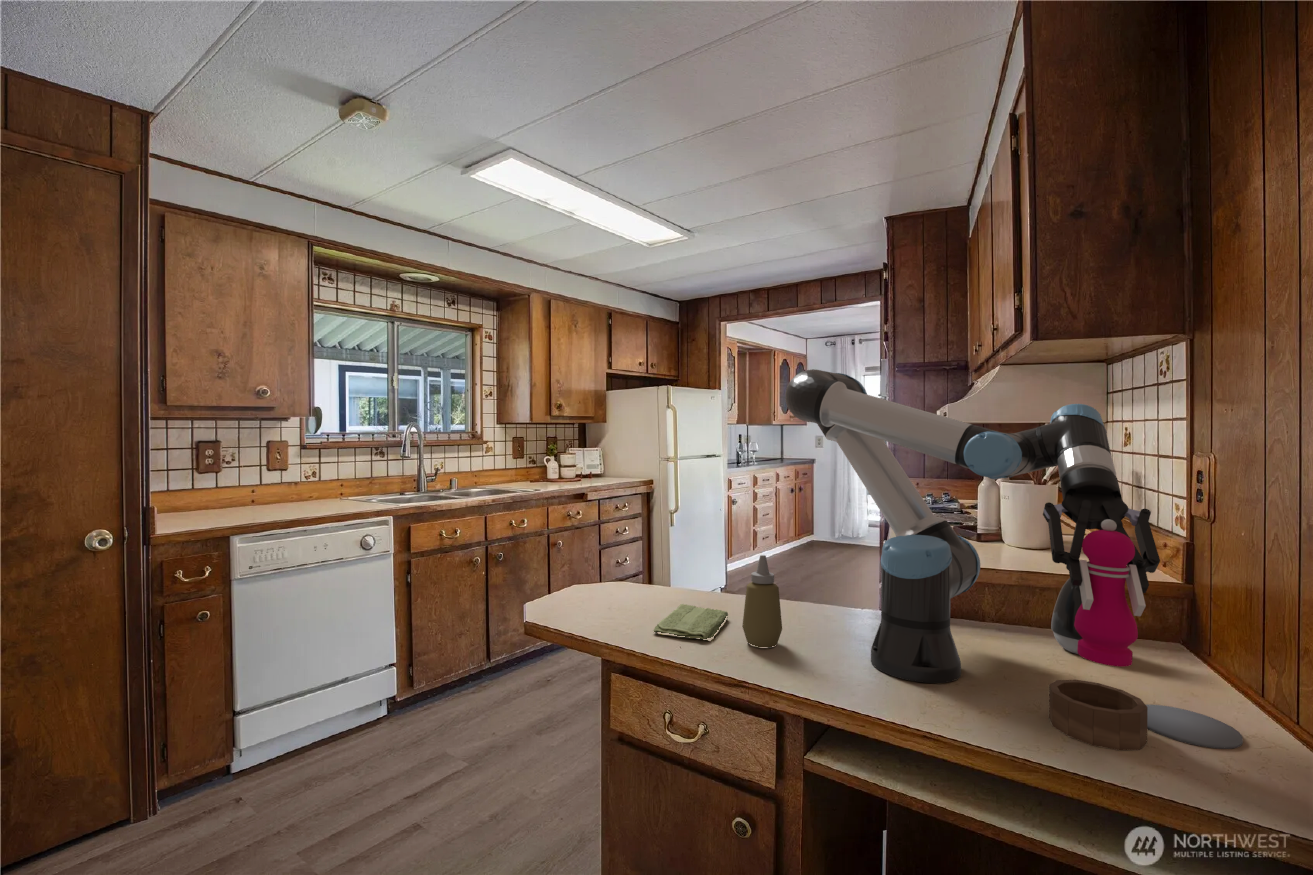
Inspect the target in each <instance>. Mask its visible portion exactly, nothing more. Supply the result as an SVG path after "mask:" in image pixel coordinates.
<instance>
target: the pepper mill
mask: <svg viewBox="0 0 1313 875" xmlns="http://www.w3.org/2000/svg"><path fill="white" fill-rule="evenodd" d="M1101 527H1102V529H1103V530H1098V529H1095V530H1092V531H1091V532H1089V533H1087V534H1086V535H1084V540H1083V543H1082V549H1081V551H1082V553H1083V554H1084V555H1085V556H1086V558H1087V559H1088V561H1087V566H1088V571H1089V577H1090V583H1091V588H1092V594H1093V603H1092V605H1091V608H1090V610H1086V609H1083V605H1082V604H1081V605H1080V607H1079V609H1078V611H1077V613H1076V616H1075V623H1074V626H1075V629H1076V630H1077V632H1078V633H1079V634H1080V636H1081V637H1082V638H1083V639H1081V640H1079V641H1078V649H1077V652H1078V654H1077V655H1079V656H1080V657H1082V658H1083V659H1085V660H1088V661H1090V662H1093V663H1096V664H1100V665H1104V666H1110V667H1120V668H1123V667H1130V666H1132V665H1133V651H1132V649H1130V648H1129V646H1131V645H1133V644H1134V643H1135V642H1136V640H1138V637H1139V636H1138V635H1139V632H1138V625H1137V622H1136V619H1135V616H1134V614H1133V612H1132V611H1131V609H1130V606H1129V604H1128V601H1127V597H1126V586H1125V585H1126V578H1128V577H1129V576H1130V575H1129V574H1128V573H1129V570H1130V568H1129V567H1128V566H1127V564H1128V563H1129V562H1130V561H1131V560H1132V559H1133V558H1134V556H1135V547H1136V546H1135V547H1134V545H1135V544H1134V541H1133V540H1132V539H1131V538H1129V537H1130V536H1129V537H1127V536H1126V535H1124V534H1122V533H1120V532H1117V531H1114V530H1115V529H1116V527H1117V525H1116V523H1115V522H1114V521H1113V520H1110V519H1106V520H1104V521H1102V523H1101Z"/></svg>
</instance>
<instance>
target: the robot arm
mask: <svg viewBox="0 0 1313 875" xmlns="http://www.w3.org/2000/svg"><path fill="white" fill-rule="evenodd" d="M784 398H785V404H786V406H787V409H788V410H789V412H790V413H791V414H792V415H793V416H794V417H795V418H797V419H798V420H800V421H803V422H807V423H812V424H813V423H814V424H817V426H818V427H819V429H820V430H821V432H822V434H823V436H824V437H825V439H827V440H828V441H833V442H836V443H837V444H838V447H839V448H840V449H841V452H842V453H843V454H844V456H845V457H846V459H847V460H848V462H849V463H850V465H851V466H852V469H853V470H854V471H855V473H856V474H857V476H858V478H859V479H860V481H861V483H862V484H863V486H864V487H865V489H866V490H867V492H868V493H869V495H870V497H871V498H872V499H873V501H874V503H875V504H876V506H877V508H878V510H879V511H880V512H881V514H882V515H883V517H884V519H885V520H886V522H887V523H888V525H889V527H890V529H891V530H892V531H893V533H894V535H895V536H892V537H891V538H888V539H887V540H886V541H885V542H884V543H883V546H882V548H881V557H880V565H881V568H880V569H881V571H880V572H881V573H880V578H881V580H880V582H881V583H880V586H881V587H880V591H881V594H880V597H881V598H880V600H881V601H880V602H881V604H880V606H881V607H880V609H881V611H880V612H881V613H880V614H881V615H880V623H879V626H878V628H877V631H876V633H875V636H874V639H873V642H872V646H871V648H870V662H871V664H872V666H873V667H874V668H876V669H877V670H879V671H880V672H882V673H885V674H886V675H889V676H891V677H895V678H898V679H901V680H906V681H911V682H917V683H925V684H942V683H943V684H944V683H950V682H953V681H956V680H958V679H959V678H961V675H962V662H961V659H960V655H959V652H958V649H957V646H956V643H955V640H954V637H953V634H952V631H951V599H952V598H954V597H957V596H960V595H961V594H963V593H966V592H967V591H968V590H969V589H971V587H972V586H973V585H974V584H975V583H976V581H977V579H978V578H979V576H980V572H981V559H980V556H979V553H978V551H977V549H976V548H975V547H974V545H973V544H972V543H971V542H969V540H967V539H966V538H964V537H963V536H961V535H958V534H957V533H956V531H955V530H954V528H953V527H952V526H951V524H950V523H949V521H948V520H947V519H946V518H943V517H939V516H937V515H935V514H934V513H933V512H932V510H931V509H930V507H929V505H928V504H927V503H926V501H925V500H924V498H923V497H922V495H921V494H920V492H919V490H918V489H917V488H916V487H915V485H914V483H913V482H912V480H911V479H910V477H909V476H908V475H907V473H906V472H905V470H904V468H903V467H902V465H901V464H900V463H899V461H898V459H897V458H896V457H895V455H894V454H893V452H892V451H891V449H890V448H889V447H888V445H887V444H886V442H888V443H890V444H893V445H896V446H900V447H903V448H906V449H910V450H913V451H915V452H918V453H921V454H924V455H927V456H931V457H934V458H937V459H939V460H942V461H946V462H948V463H952V464H954V465H957V466H961V467H962V468H965V469H969V470H970V471H972V472H973V473H974V474H976V475H978V476H981V477H985V478H989V479H991V480H1000V479H1009V478H1013V477H1015V476H1019V475H1023V474H1028V473H1031V472H1035V471H1036V472H1037V471H1041V470H1043V469H1049V468H1054V467H1058V468H1057V469H1058V474H1059V475H1058V476H1059V480H1060V489H1061V495H1062V501H1061V503H1059V504H1054V503H1052V502H1049V501H1047V502H1045V504H1044V507H1043V513H1042V516H1043V518H1044V519H1045V521H1046V522H1047V524H1048V533H1049V542H1050V543H1049V544H1050V550H1051V560H1052V562H1053V563H1055V564H1060V563H1061V564H1063V565H1065V569H1066V570H1067V571H1068V573H1069V578H1070V582H1071V583H1072V585H1077V586H1079V587H1080V593H1081V599H1082V605H1083V609H1086V610H1090V608H1091V605H1092V603H1093V594H1092V588H1091V583H1090V577H1089V571H1088V566H1087V562H1088V561H1087V560H1086V559H1080V558H1081V554H1082V543H1083V540H1084V538H1085V536H1086V535H1085V534H1086V530H1103V529H1102V527H1101V523H1102V521H1104V520H1106V519H1110V520H1113V521H1114V522H1115V523H1116V525H1117V527H1116V529H1115V530H1114V531H1117V532H1120V533H1122V534H1124V535H1126V536H1127V537H1129V538H1130V537H1131V536H1129V535H1128V532H1127V531H1126V529H1125V528H1124V525H1123V521H1122V520H1123V519H1125V518H1128V519H1129V522H1130V524H1131V526H1133V527H1134V533H1135V538H1136V540H1137V546H1138V548H1137V547H1136V546H1135V544H1134V547H1135V556H1134V558H1133V559H1132V560H1131V561H1130V562H1129V563H1128V564H1127V566H1128V567H1129V568H1130V570H1129V573H1128V574H1129V575H1130V576H1129V577H1128V578H1126V581H1125V584H1126V587H1127V591H1128V595H1129V599H1130V604H1131V609H1132V615H1133V617H1135V616H1136V617H1141V616H1142V614H1143V612H1144V610H1145V609H1146V606H1147V605H1146V601H1145V597H1144V594H1146V593H1147V591H1148V589H1149V587H1150V583H1149V579H1148V575H1147V573H1149V574H1153V573H1155V572H1156V571H1157V568H1158V567H1159V565H1160V563H1161V559H1160V556H1159V552H1158V548H1157V545H1156V542H1155V539H1154V538H1155V537H1154V535H1153V532H1152V528H1151V524H1150V522H1149V521H1150V518H1151V513H1152V511H1151V510H1150V509H1148V508H1142V509H1140V510H1135V509H1132V508H1130V507H1129V505H1128V504H1127V503H1125V502H1124V500H1123V497H1122V493H1121V488H1120V485H1119V480H1118V478H1117V472H1116V468H1115V464H1114V461H1113V458H1112V456H1113V455H1112V453H1111V448H1110V443H1109V439H1108V432H1107V429H1106V427H1105V424H1104V421H1103V418H1102V415H1101V413H1100V412H1099V411H1098V410H1097V409H1096V408H1094V407H1092V406H1090V405H1089V404H1084V403H1070V404H1065V405H1064V406H1061V407H1060V408H1059V409H1057V410H1055V411H1054V412H1053V414H1052V415H1051V417H1050V422H1049V423H1047V424H1043V425H1041V426H1037V427H1034V428H1031V429H1030V428H1029V429H1026V430H1022V431H1018V432H1014V433H1011V432H1010V433H1009V432H1001V431H998V430H994V429H991V428H987V427H983V426H980V425H976V424H975V425H974V424H973V423H972V424H971V423H969V422H965V421H962V420H961V421H960V420H959V419H958V420H957V419H955V418H952V417H951V418H950V417H948V416H944V415H940V414H937V413H933V412H929V411H926V410H922V409H919V408H916V407H912V406H908V405H906V404H905V405H904V404H902V403H898V402H894V401H891V400H888V399H885V398H881V397H877V396H874V395H870V394H868V393H867V390H866V388H865V387H864V385H863V384H862V383H861V382H860V381H859V380H858V379H857V378H855V377H853V376H851V375H849V374H845V373H842V372H841V373H840V372H829V371H825V370H822V369H816V368H815V369H806V370H804V371H803V370H802V371H801V372H799V373H797V374H796V375H795V376H793V377H792V378H791V380H790V381H789V382H788V384H787V387H786V388H785V396H784ZM1063 514H1064V515H1065V516H1067V517H1068V518H1069V519H1070V520H1071V521H1072V522H1073V523H1075V526H1074V531H1073V537H1072V541H1071V545H1070V549H1069V552H1068V551H1065V545H1064V544H1065V543H1064V537H1063V530H1062V529H1063V528H1062V521H1061V517H1062V515H1063ZM1130 539H1131V538H1130ZM1138 549H1139V550H1138Z"/></svg>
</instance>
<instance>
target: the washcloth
mask: <svg viewBox="0 0 1313 875" xmlns="http://www.w3.org/2000/svg"><path fill="white" fill-rule="evenodd" d="M726 616H729V614H728V611H727V610H722V609H714V608H711V607H710V608H709V607H707V608H705V607H704V608H703V607H697V606H696V605H690V604H684V603H681V604H680V605H678V606H677V608H676V609H673V611H671V613H669V614H668V615H667V616H666V617H664V618H663V619H662V620H660V621H659V622H658V623H657V624H656V626H655V627H654V628H653V631H654V632H661V633H669V634H674V635H677V636H685V637H690V638H689V639H693V638H700V639H707V638H711V637H713V636H714V634H715V633H716V632H717V630H719V627H720V626H721V624H722V623H723V622H724V620H725V618H726ZM654 632H653V633H654Z"/></svg>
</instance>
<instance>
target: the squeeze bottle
mask: <svg viewBox="0 0 1313 875" xmlns="http://www.w3.org/2000/svg"><path fill="white" fill-rule="evenodd" d="M750 574H751V575H750V576H751V578H750V581H751V582H749V583H748V584H746V591H745V596H744V597H745V599H744V607H743V619H742V630H743V633H744V636H745V639H746V640H745V641H746V642H748V643H750V644H752V645H755V646H758V647H772V646H775V645H776V644H777V645H778V643H779V640H780V637H781V634H782V631H783V624H782V622H783V621H782V612H781V601H780V589H779V588H780V587H779V586H778V585H777V584H776V583H775V574H774V573H773V572H770V569H769V565H768V560H767V555H764V554H763V555H762V554H761V555H759V558H758V563H757V568H756V570H755V571H753V572H750ZM748 643H747V644H748ZM775 647H776V646H775Z"/></svg>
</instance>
